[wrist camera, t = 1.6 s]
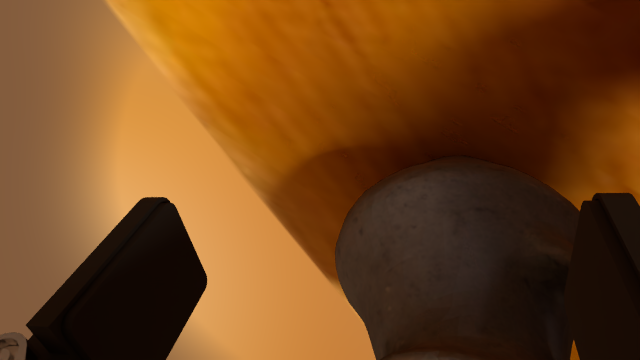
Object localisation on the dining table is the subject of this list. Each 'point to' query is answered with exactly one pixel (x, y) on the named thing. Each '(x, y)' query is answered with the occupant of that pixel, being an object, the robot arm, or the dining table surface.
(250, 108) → the dining table surface
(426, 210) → the pitcher
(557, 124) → the dining table surface
